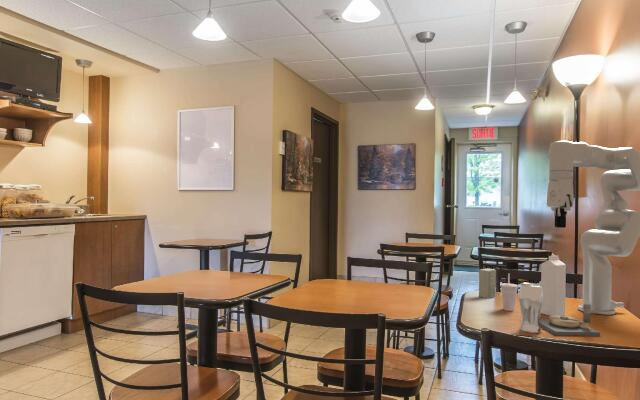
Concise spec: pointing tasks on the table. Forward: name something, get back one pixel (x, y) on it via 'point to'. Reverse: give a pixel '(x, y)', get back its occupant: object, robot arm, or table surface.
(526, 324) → the beer glass
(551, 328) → the board
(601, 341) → the table surface
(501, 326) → the table surface
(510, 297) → the smoothie
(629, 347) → the table surface
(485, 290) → the skincare box
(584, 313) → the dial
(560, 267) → the milk
